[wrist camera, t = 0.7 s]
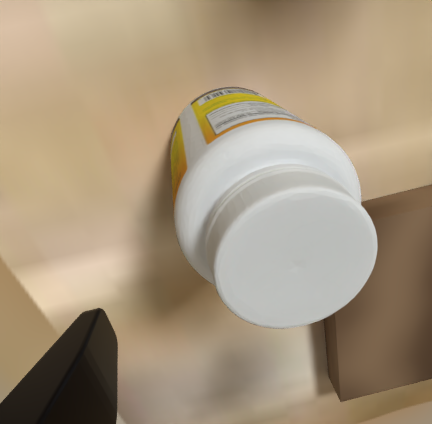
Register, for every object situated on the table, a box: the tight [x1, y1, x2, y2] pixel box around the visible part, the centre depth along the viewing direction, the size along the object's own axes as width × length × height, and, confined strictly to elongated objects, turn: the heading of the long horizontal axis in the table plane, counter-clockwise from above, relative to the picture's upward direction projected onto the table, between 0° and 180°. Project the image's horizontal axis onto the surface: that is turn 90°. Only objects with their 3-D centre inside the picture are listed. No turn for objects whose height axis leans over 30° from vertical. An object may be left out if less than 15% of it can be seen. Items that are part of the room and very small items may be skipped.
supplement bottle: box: [170, 87, 378, 329], centre depth 13 cm, size 6×6×10 cm
